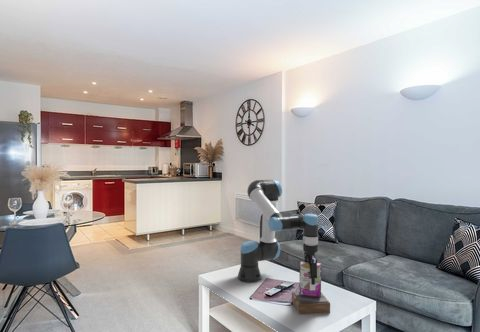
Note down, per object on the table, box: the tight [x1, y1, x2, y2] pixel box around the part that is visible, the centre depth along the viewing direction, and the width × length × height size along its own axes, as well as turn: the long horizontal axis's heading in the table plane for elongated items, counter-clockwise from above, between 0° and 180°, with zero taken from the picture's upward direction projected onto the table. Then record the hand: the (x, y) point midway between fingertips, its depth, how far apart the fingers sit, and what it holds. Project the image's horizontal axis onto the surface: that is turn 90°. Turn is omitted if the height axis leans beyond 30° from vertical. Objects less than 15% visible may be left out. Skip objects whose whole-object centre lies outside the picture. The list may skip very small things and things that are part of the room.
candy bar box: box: [298, 261, 322, 297], centre depth 158 cm, size 11×5×16 cm, turn 77°
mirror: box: [291, 291, 331, 315], centre depth 158 cm, size 14×16×6 cm
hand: (310, 287), depth 158 cm, fingers closed on candy bar box, 6 cm apart
